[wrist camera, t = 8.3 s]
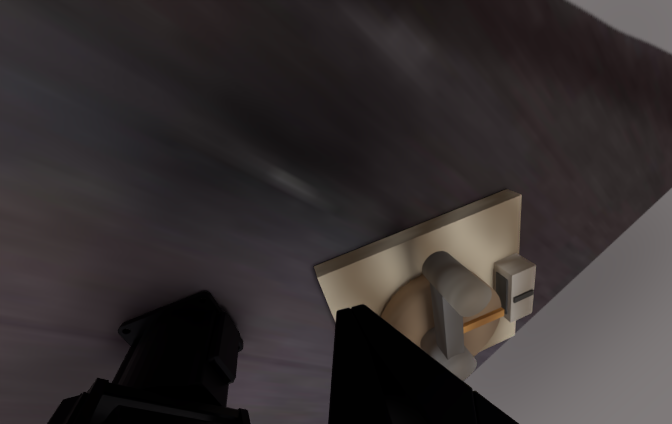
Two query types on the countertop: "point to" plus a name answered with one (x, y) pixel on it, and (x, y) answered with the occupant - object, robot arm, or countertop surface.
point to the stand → (440, 235)
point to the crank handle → (446, 313)
